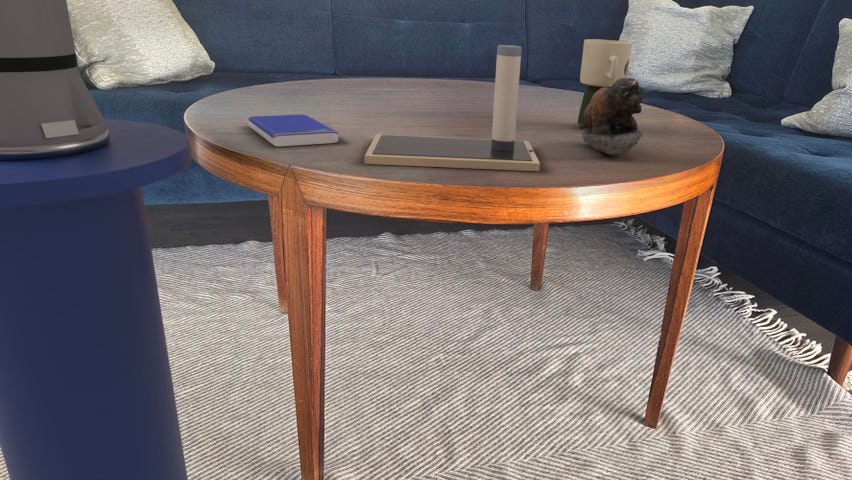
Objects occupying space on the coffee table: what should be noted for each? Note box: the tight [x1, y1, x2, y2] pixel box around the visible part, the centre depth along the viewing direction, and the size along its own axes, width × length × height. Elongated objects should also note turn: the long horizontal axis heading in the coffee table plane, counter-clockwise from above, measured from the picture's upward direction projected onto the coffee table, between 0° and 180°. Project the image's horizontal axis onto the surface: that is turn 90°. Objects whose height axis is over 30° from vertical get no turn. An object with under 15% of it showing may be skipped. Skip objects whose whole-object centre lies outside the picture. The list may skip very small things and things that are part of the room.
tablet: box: [364, 133, 541, 172], centre depth 79 cm, size 20×12×1 cm, turn 92°
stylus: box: [491, 44, 523, 152], centre depth 77 cm, size 3×3×12 cm
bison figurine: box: [581, 77, 644, 156], centre depth 84 cm, size 12×7×10 cm, turn 7°
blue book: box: [248, 114, 339, 147], centre depth 84 cm, size 2×8×12 cm
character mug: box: [576, 38, 633, 126], centre depth 99 cm, size 11×7×13 cm, turn 5°
